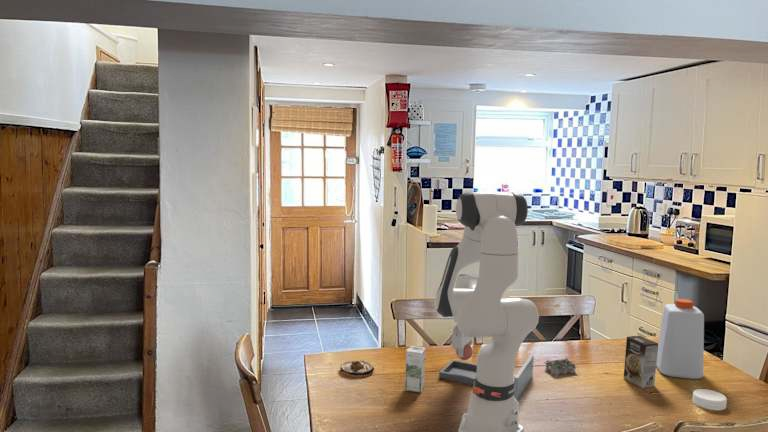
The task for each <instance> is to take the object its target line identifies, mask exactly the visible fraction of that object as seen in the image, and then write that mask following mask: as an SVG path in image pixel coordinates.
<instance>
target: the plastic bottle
mask: <svg viewBox="0 0 768 432" xmlns="http://www.w3.org/2000/svg"><path fill="white" fill-rule="evenodd" d="M674 301H675V303H667V304H665V305H664V306H663V311H662V312H663V313H662V318H661V324H660V328H659V329H660V330H659V336H658V342H657V343H658V353H657V363H656V368H657V369H658V371H659V372H660V373H661V374H662V375H664V376H667V377H671V378H677V379H678V378H681V379H688V380H689V379H690V380H700V379H702V378H703V376H704V358H705V357H704V356H705V355H704V351H705V350H704V349H705V348H704V347H705V345H704V343H705V338H704V337H705V314H704V313H703V311H701V310H700V309H699V308H698V307H697V306H694V301H692V300H690V299H687V298H677V299H675V300H674Z"/></svg>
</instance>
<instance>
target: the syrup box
mask: <svg viewBox="0 0 768 432" xmlns="http://www.w3.org/2000/svg"><path fill="white" fill-rule="evenodd" d="M405 353H406V354H405V382H404V386H405V387H404V391H406V392H410V393H412V392H414V393H419V394H422V391H423V390H424V387H425V369H426V368H425V367H426V364H425V363H426V347H422V346H414V345H409V346H408V347H407V349H406V352H405Z"/></svg>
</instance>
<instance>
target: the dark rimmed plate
mask: <svg viewBox="0 0 768 432" xmlns="http://www.w3.org/2000/svg"><path fill="white" fill-rule="evenodd" d="M374 371H375V367H374V366H373V365H372V364H370V363H369V362H367V361H364V360H352V361H351V360H349V361H345V363H341V364H340V374H341V373H342V374H344V376H346V377H348V376H350V377H349V378H355V377H359V378H361V377H363V378H366V377H365V376H367V377H370V376H371V375H373V374H374ZM372 373H373V374H372ZM342 374H341V375H342ZM370 374H371V375H370ZM369 375H370V376H369Z"/></svg>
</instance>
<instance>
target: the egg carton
mask: <svg viewBox="0 0 768 432" xmlns="http://www.w3.org/2000/svg"><path fill="white" fill-rule="evenodd" d="M544 364H545V371H546V372H550V374H551V375H554V376H559V375H560V374H561V375H562V374H563V375H567V373H569V374H575V372H576V368H578V365H575V363H574V362H572V361H571V360H569V359H568V357H567V358H562V359H555V360H550V359H549V360H545V362H544Z"/></svg>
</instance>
